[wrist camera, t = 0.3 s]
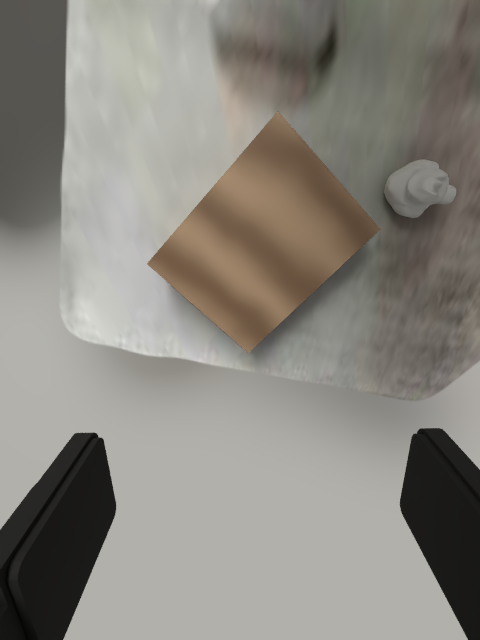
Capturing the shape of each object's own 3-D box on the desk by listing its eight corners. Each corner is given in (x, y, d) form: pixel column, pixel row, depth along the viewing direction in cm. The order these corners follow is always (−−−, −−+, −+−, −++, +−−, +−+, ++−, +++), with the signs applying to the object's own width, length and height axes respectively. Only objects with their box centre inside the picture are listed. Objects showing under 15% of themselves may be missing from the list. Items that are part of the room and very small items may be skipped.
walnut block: (271, 127, 33) (277, 111, 27) (358, 225, 36) (380, 229, 30) (161, 255, 37) (146, 263, 32) (247, 332, 40) (248, 353, 35)
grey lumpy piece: (387, 157, 34) (429, 142, 26) (446, 170, 34) (503, 160, 27) (370, 210, 36) (404, 210, 28) (426, 222, 36) (475, 226, 28)
